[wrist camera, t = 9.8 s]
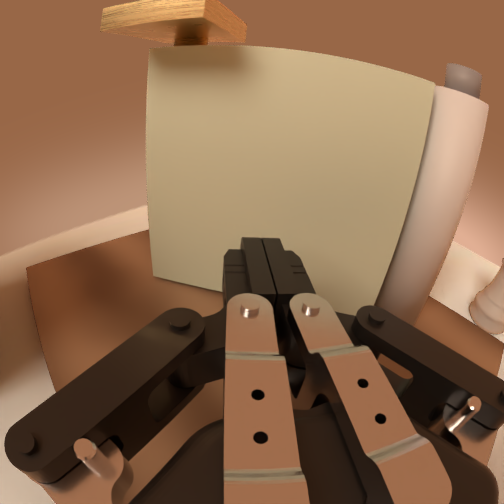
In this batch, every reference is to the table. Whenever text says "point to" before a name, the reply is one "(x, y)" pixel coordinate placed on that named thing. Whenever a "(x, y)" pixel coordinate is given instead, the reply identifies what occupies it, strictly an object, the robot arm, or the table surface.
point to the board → (154, 304)
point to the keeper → (175, 21)
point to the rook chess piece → (490, 305)
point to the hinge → (309, 168)
